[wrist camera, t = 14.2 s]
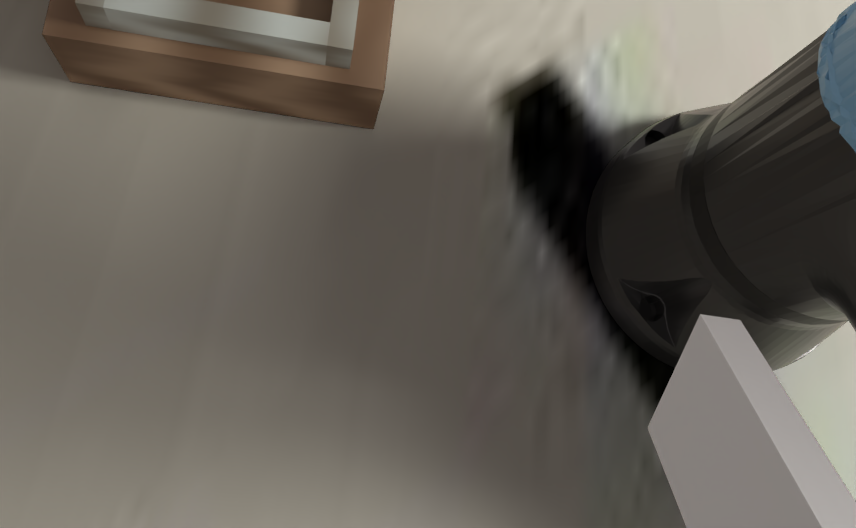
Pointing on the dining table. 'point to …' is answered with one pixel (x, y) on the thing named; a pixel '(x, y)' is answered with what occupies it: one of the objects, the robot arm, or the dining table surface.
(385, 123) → the dining table surface
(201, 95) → the walnut tray
